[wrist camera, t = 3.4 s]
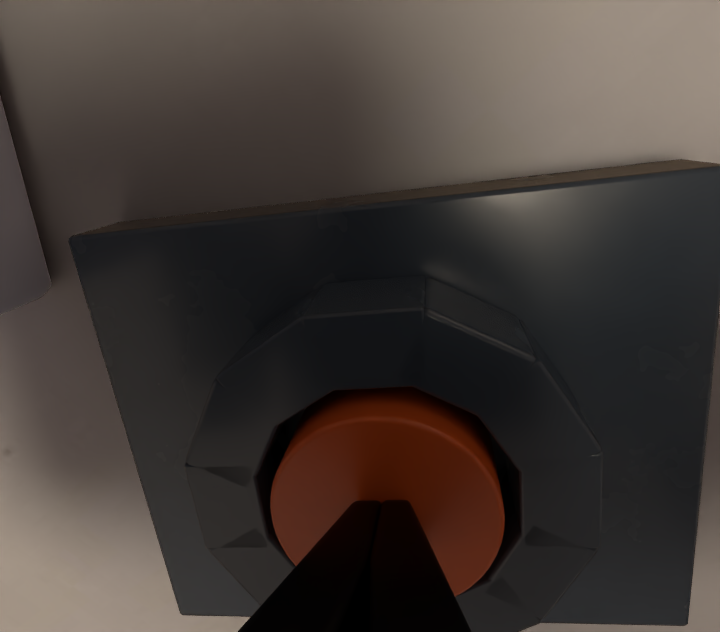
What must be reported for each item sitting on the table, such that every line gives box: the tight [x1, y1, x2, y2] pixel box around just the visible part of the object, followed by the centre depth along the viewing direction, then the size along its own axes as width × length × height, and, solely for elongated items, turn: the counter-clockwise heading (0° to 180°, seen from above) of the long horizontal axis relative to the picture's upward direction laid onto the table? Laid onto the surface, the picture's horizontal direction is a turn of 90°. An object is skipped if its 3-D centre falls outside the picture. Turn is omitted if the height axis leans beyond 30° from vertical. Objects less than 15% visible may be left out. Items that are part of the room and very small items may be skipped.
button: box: [270, 387, 505, 597], centre depth 9 cm, size 4×4×2 cm
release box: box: [69, 159, 720, 632], centre depth 10 cm, size 11×9×4 cm
